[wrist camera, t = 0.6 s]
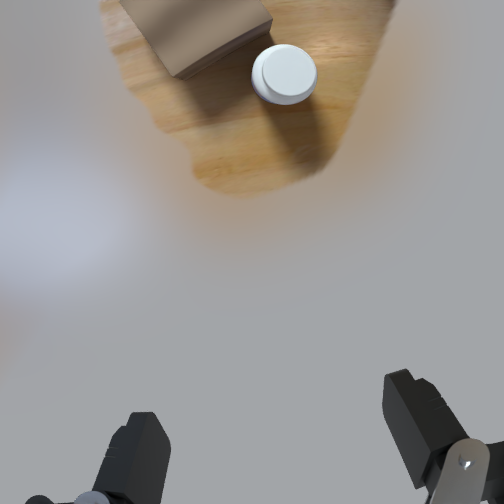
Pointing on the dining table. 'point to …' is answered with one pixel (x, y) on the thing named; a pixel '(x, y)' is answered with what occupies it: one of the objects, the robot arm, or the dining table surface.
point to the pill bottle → (284, 75)
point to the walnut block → (197, 29)
